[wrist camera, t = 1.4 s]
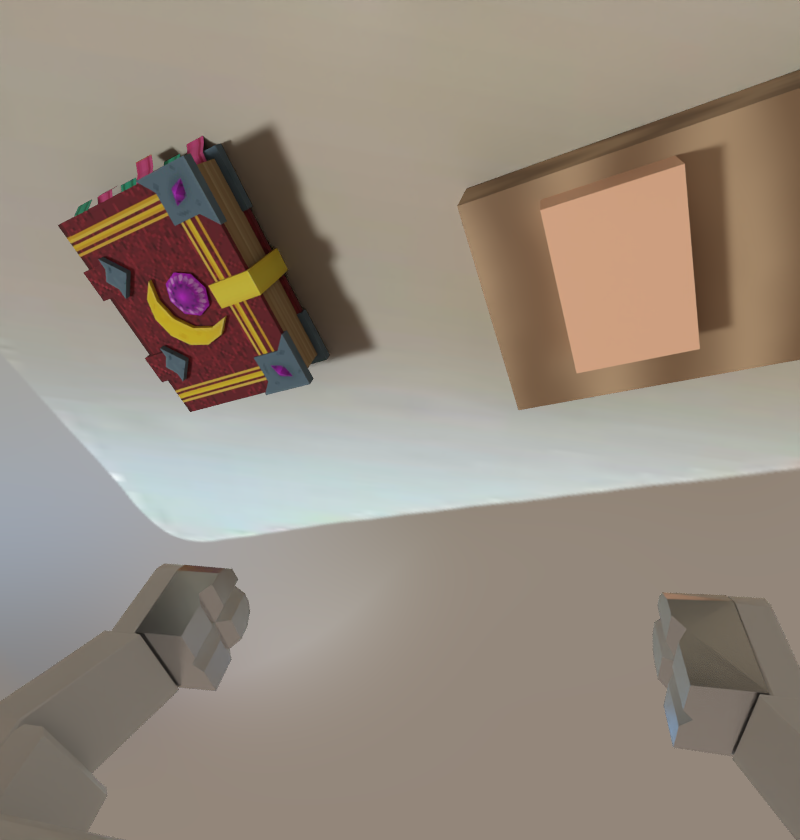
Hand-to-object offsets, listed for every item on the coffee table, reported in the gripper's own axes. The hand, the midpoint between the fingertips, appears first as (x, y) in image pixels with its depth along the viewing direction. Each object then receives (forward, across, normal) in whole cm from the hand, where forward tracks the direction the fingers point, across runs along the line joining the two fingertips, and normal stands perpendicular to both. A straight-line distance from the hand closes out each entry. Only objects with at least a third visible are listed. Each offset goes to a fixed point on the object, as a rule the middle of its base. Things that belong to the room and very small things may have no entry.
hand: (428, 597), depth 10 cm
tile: (+22, -6, +1) cm, 23 cm away
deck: (+26, -9, +2) cm, 27 cm away
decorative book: (+27, +20, +1) cm, 34 cm away
